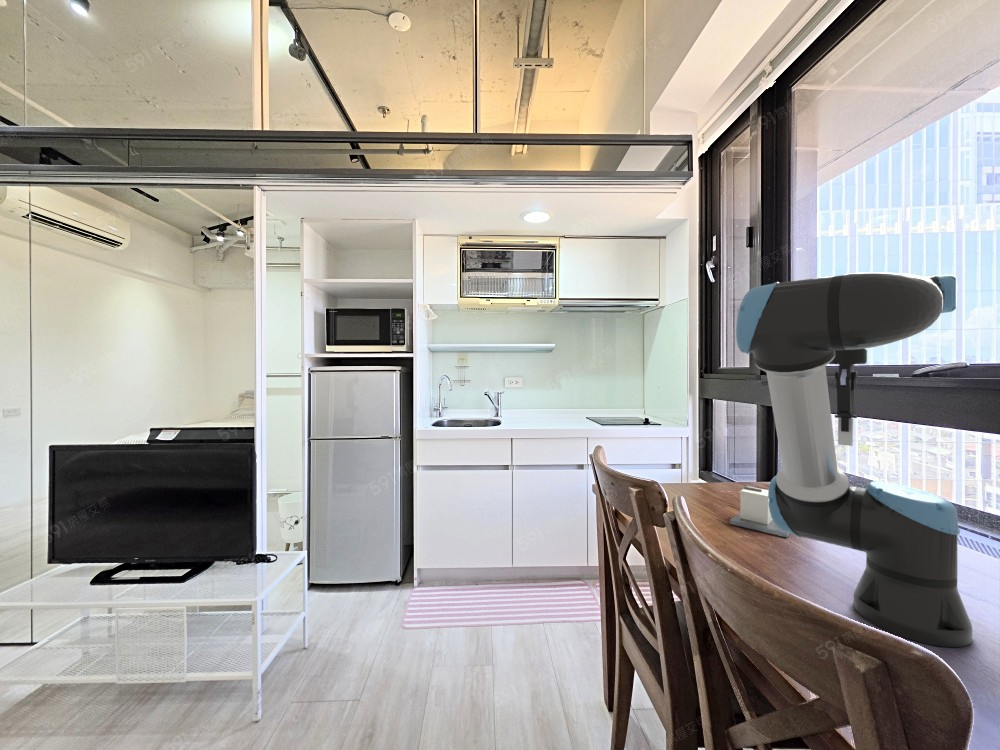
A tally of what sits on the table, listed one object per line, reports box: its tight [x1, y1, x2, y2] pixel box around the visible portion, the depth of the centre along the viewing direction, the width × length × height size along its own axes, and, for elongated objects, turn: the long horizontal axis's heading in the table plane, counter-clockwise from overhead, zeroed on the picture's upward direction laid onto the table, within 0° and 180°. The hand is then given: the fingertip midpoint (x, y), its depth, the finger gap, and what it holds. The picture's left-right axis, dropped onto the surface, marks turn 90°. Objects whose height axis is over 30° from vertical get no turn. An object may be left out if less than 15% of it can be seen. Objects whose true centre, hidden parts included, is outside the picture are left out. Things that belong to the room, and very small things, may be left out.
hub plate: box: [729, 512, 792, 538], centre depth 123 cm, size 14×14×5 cm
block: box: [739, 486, 773, 525], centre depth 124 cm, size 8×7×9 cm
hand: (845, 444), depth 104 cm, fingers closed
